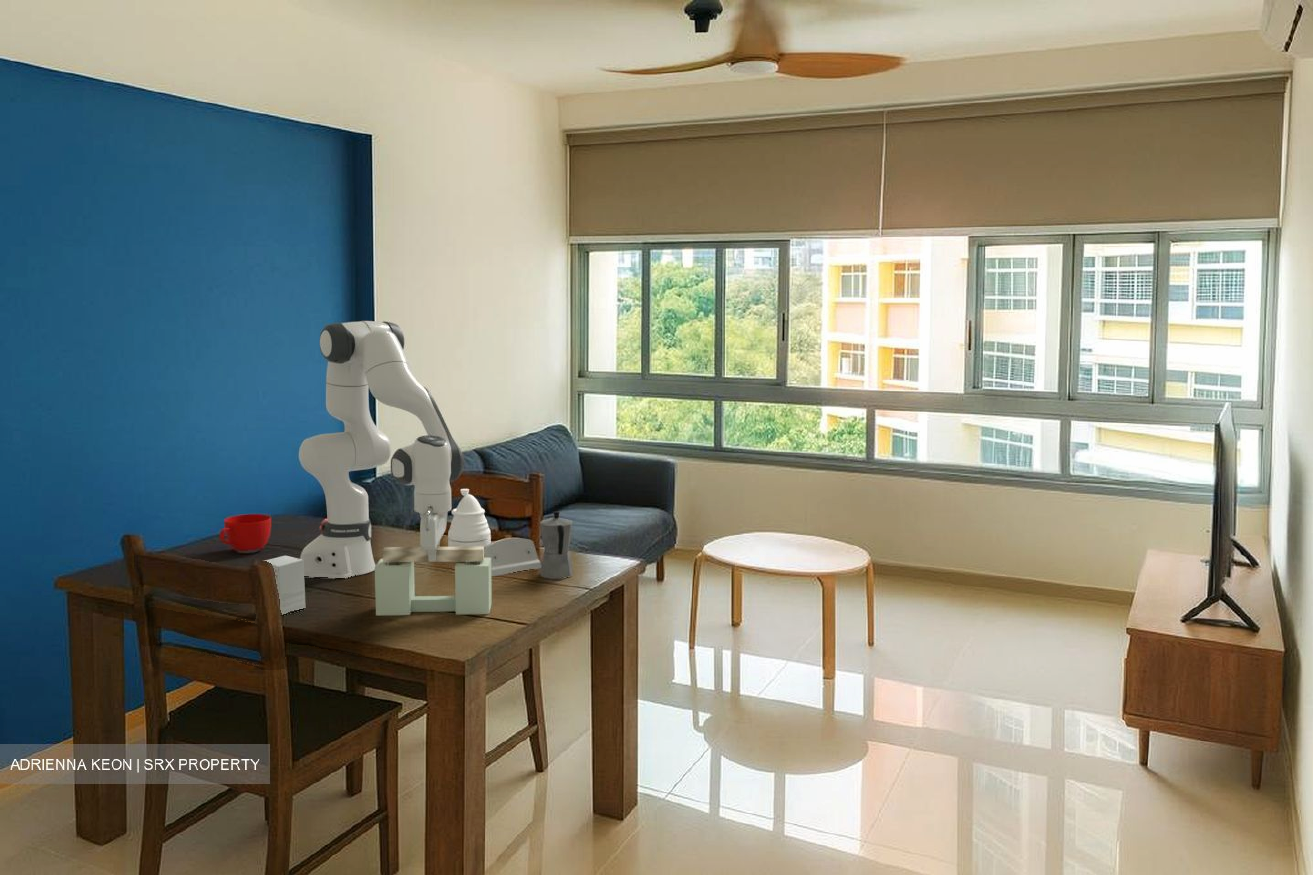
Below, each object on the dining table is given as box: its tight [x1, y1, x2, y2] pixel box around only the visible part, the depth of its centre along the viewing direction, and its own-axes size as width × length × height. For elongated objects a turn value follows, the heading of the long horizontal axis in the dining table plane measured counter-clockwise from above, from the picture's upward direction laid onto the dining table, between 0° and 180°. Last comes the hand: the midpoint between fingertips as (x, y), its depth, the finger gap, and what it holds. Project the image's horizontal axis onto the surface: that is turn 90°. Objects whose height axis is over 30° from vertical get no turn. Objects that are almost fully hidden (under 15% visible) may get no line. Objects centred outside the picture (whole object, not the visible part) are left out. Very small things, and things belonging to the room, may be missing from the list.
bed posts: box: [374, 558, 493, 616], centre depth 248 cm, size 27×8×12 cm, turn 95°
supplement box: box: [264, 555, 307, 615], centre depth 246 cm, size 7×7×13 cm
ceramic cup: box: [219, 513, 272, 551], centre depth 299 cm, size 13×17×10 cm
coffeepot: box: [539, 510, 574, 580], centre depth 279 cm, size 15×9×18 cm, turn 15°
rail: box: [382, 546, 484, 565], centre depth 247 cm, size 24×3×6 cm, turn 95°
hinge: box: [484, 537, 542, 578], centre depth 286 cm, size 17×5×10 cm, turn 125°
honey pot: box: [447, 488, 492, 547], centre depth 308 cm, size 13×13×18 cm
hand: (433, 558), depth 247 cm, fingers closed on rail, 3 cm apart
